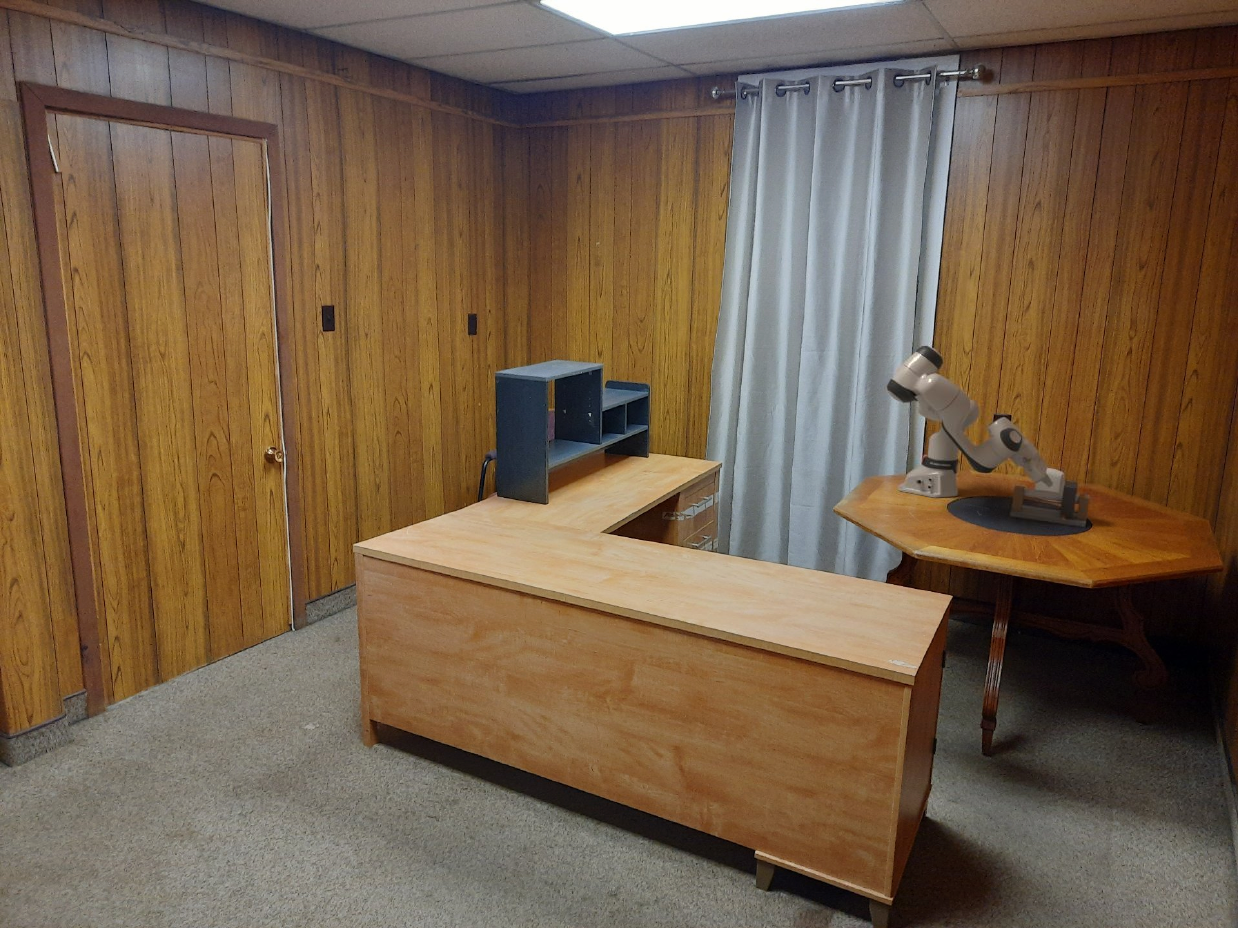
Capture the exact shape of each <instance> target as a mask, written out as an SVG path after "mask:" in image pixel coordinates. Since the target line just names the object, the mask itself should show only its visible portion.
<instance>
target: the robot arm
mask: <svg viewBox="0 0 1238 928" xmlns="http://www.w3.org/2000/svg"><path fill="white" fill-rule="evenodd" d="M943 364H944V358H943V357H942V356H941V354H940V352H939V351H938V350H937V349H936V348H934V347H931V346H928V345H922V346H920V347H918V348H917V349H916V350H915V352H914V353H912V355H910V356H909V357H908V358H907V359H906V360H905V361H904V362H903V363H901V364H900V365H899V367H898V368H897V370H896V373H895V374H894V376H893V377H892V378H890V380H888V383H887V385H886V388H887V389H886V390H887V391H888V393H889V395H890V397H892V398H893V399H894V400H895V401H898V402H899V403H900V402H901V403H903V404H904V403H907V404H908V403H912V402H914V401H915V402H916V403H917V407H916V409H917V411H918V413H919V415H920V416H922V417H924V418H926V419H928V420H931V421H934V422H939V423H941V426H940V429H939V431H937V432H934V433H933V434H931V436H930V437H929V440H928V449H927V450H928V451H927V454H924V455H923V456H922V457H921V464H920V465H919V466H917V467H915V468H913V469H912V470H910V471H908V472H907V475H906V476H905V479H904V482H901V483H899V485H898V487H897V489H898V491H900V492H903V493H909V494H914V495H920V496H925V497H929V498H937V499H938V498H949V497H957V496H958V495H959V491H958V490H959V489H958V484H957V474H958V471H959V461H960V460H959V458H958V457H959V451H960V452H961V454H962V455H963V456H964V457H965V459H966V460H967V462H968V463H969V465H970V467H971V468H973V470H974V471H975V472H977V473H979V474H980V473H981V474H990V473H992V472H993V471H994V470H996V469H997V468H998V466H1000V465H1001V464H1003V463H1005V462H1006V461H1007V460H1009V459H1010V460H1011V461H1012V462H1013V464H1014V465H1015V466H1016V467H1022V469H1023V470H1024V472H1025V473H1026V474H1027V475H1028V476H1029V478H1030V479H1031V480H1032V481H1033V482H1034V484H1035V483H1038V482H1040V481H1042V482H1043V483H1045V484H1046V485H1047V486H1048V487H1051V486H1052V485H1053V482H1052V481H1051V479H1050V478H1049V476H1048V475H1047V474H1046V471H1047V468H1048V465H1047V463H1046V461H1045V460H1044V459H1043V458H1042V456H1041V455H1040V454H1039V450H1038V448H1036V447H1035V446H1034V445H1033V443H1032V442H1030V440H1028V439H1027V438H1026V437H1025V436H1024V435H1023V433H1022V432H1021V430H1020V428H1018V427H1017V426H1016V425H1015V424H1014V423H1012V421H1011V420H1010V419H1008V418H1007V417H1005V416H1003V417H1001V416H1000V417H998V418H997V419H996V420H994V421H992V422H991V423H989V424H988V425H987V427H986V431H987V433H988V434H989V435H990V437H989V438H988V439H986V440H985V441H984V442H982V443H981V444H979V445H976V444H975V445H974V443H973V442H972V441H971V440H970V439H969V437H968V436H967V435H966V434H965V431H966V430H967V429H968V428H969V427H971V426H973V424H974V423H976V421H977V420H978V418H979V415H980V408H979V404H978V403H977V402H976V401H974V400H972V399H970V397H969V396H968V394H967V393H966V392H964V390H963V389H961V388H960V387H959V386H958V385H957V384H956V383H954V382H953V381H951V380H949V379H948V378H946V377H945V376H943V375H941V374H938V373H937V372H938V371H939V370H940V369H941V367H942V365H943Z"/></svg>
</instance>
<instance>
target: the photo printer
mask: <svg viewBox="0 0 1238 928" xmlns="http://www.w3.org/2000/svg"><path fill="white" fill-rule="evenodd" d="M1046 474H1047V475H1048V476H1049V478H1050V479H1051V481H1052V482H1053V485H1052V486H1051V487H1048V486H1047V485H1046V484H1045V483H1043V482H1042V481H1040V482H1038V483H1035V482H1034V484H1035V485H1034V489H1035V490H1042V491H1050V492H1058V493H1063V489H1064V485H1065V481H1066V475H1065V473H1064V472H1063V471H1061V470H1058V469H1055V468H1051V467H1047V471H1046ZM1037 499H1039V498H1037ZM1039 500H1040V499H1039ZM1042 500H1043V501H1048V502H1053V503H1058V504H1059V503H1062V501H1054V500H1047V499H1042Z"/></svg>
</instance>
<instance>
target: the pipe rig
mask: <svg viewBox="0 0 1238 928" xmlns="http://www.w3.org/2000/svg"><path fill="white" fill-rule="evenodd" d="M1090 496H1091V495H1090V494H1085V493H1080V494H1079V495H1078V494H1076V498H1075V505H1076V504H1078V506H1077V512H1074V513H1073V516H1068V515H1061V514H1060V511H1061V510H1057V509H1052V508H1051V509H1049V508H1042V507H1037V506H1036V507H1035V506H1029V505H1023V503H1024V497H1025V498H1033V499H1038V498H1039V500H1043V499H1047V500H1046V501H1048V500H1054V501H1062V497H1063V493H1058V492H1050V491H1042V490H1035V488H1033V489H1032V488H1026V487H1025V486H1024V485H1023V486H1022V485H1015V486H1014V489H1013V496H1012V502H1011V503H1012V505H1011V510H1010V513H1009V517H1012V516H1013V517H1012V518H1019V519H1027V520H1033V521H1040V522H1047V521H1048V523H1055V524H1062V525H1069V526H1074V525H1075V526H1076V527H1083V528H1086V524H1087V517H1088V511H1089V504H1090Z"/></svg>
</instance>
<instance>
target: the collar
mask: <svg viewBox="0 0 1238 928" xmlns="http://www.w3.org/2000/svg"><path fill="white" fill-rule="evenodd" d="M1078 486H1079V482H1078V481H1077V482H1076V481H1072V480H1070V481H1069V480H1065V481H1064V489H1063V497H1062V502H1061V504H1060V505H1061V506H1060V510H1059V511H1060V514H1061V515H1068V516H1073V513H1075V507H1076V506H1075V505H1076V503H1075V498H1076V495H1077V492H1078Z"/></svg>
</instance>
